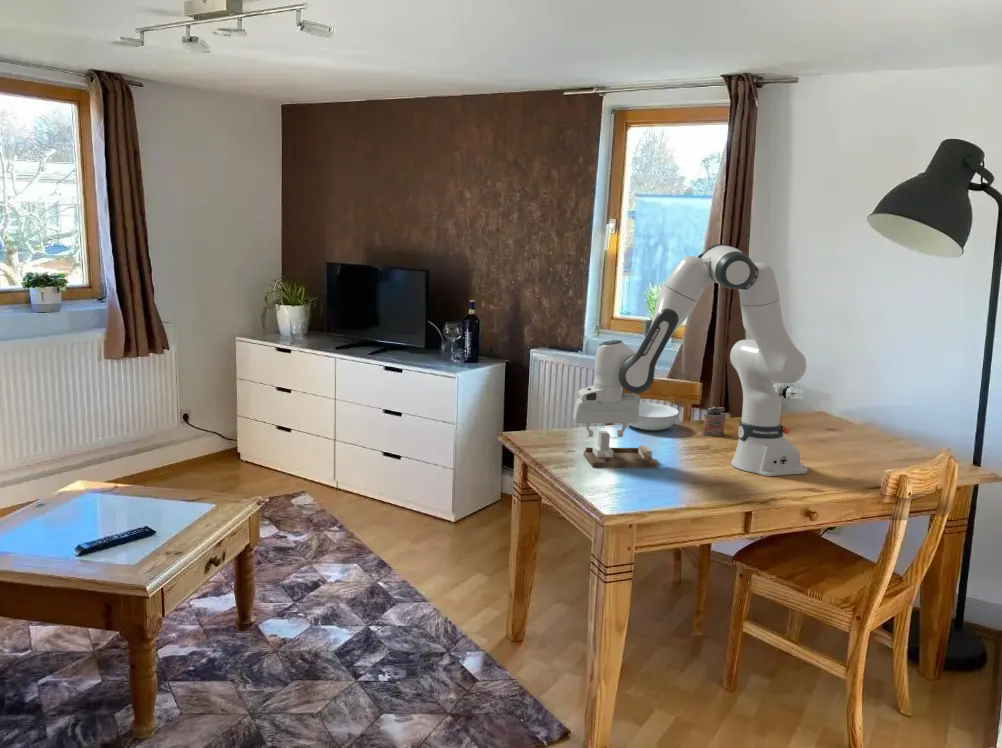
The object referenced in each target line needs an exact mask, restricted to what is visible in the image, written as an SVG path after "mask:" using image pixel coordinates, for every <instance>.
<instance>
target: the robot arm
mask: <svg viewBox="0 0 1002 748" xmlns="http://www.w3.org/2000/svg"><path fill="white" fill-rule="evenodd" d="M715 283H716V284H718V285H721V286H722V287H723V288H726V289H731V290H737V291H738V294H739V304H740V309H741V310H740V311H741V318H742V319H741V320H742V325H743V328H744V330H745V331H746V332H747V333H748V334H749V335H750V336H751V338H752V339H751V338H750V339H748V338H747V339H741V340H738V341H736V342H735V344H734V345H733V346H732V348H731V350H730V354H729V359H730V363H731V365H732V366H733V368H734V369H735V371H736V372H737V375H738V377H739V380H740V383H741V388H742V408H741V410H742V411H741V419H740V420H739V426H738V430H737V431H738V432H737V433H738V435H737V438H738V441H737V446H736V449H735V452H734V454H733V458H732V460H731V463H730V464H731V465H732V466H733V467H734V468H736V469H739V470H742V471H745V472H749V473H755V474H759V475H761V476H767V477H775V476H776V477H777V476H787V475H801V474H807V473H808V468H807V466H806V465H804V464H803V463H802V462H801V454H800V451H799V449H798V448H797V447H796V446H795V445H793V444H792V442H791V441H789V440H788V439H787V438H786V437H785V436H784V434H785V435H789V434H790V433H791V428H789V427H788V426H784V425H782V424H781V423H780V418H781V409H782V399H781V396H780V395H779V394H778V392H777V391H776V390H775V388H774V386H773V382H775V383H781V384H791V383H792V384H793V383H796V382H798V381H799V380H801V379H802V378H803V377H804V375H805V373H806V369H807V360H806V357H805V355H804V353H802V352H801V351H800V350H799V349H798V348H797V346H796V345H795V344H794V343H793V341H792V339H791V337H790V336H789V334H788V332H787V329H786V327H785V324H784V321H783V315H782V307H781V301H780V293H779V288H778V283H777V278H776V275H775V272H774V270H773V268H772V266H771V265H769V264H767V263H765V262H753V261H752V259H751V257H749V256H748V254H745V253H744V252H743V251H741V250H740V249H738V248H736V247H732V246H730V245H728V244H723V243H717V244H714V245H712V246H709V247H708V248H707V249H706V250H705V251H703V252H702V253H701V254H699V255H698V256H695V255H687V256H685V257H684V256H683V258H681V259H680V260H679V262H678V263H677V264H676V266H675V267H674V268H673V269H672V271H671V272H670V274H669V275H668V277H667V278H666V280H665V282H664V284H663V286H662V287H661V290H659V293H658V297H657V299H656V302H655V307H654V310H653V316H652V321H651V324H650V327H649V329H648V331H647V333H646V335H645V337H644V338H643V341H642V342H641V344H640V347H639V348H638V350H635V349H633V348H632V347H630V346H628V345H627V344H626V343H625V342H624V341H623V340H615V339H614V340H607V341H603V342H602V343H600V344H599V345H598V347H597V349H596V353H595V360H594V374H595V377H594V380H593V385H591V386H587V387H584V388H581V389H579V390H578V392H577V396H578V398H577V399H575V402H574V407H573V413H572V416H573V417H572V418H573V420H574V421H575V422H576V423H577V424H584V427H585V429H586V431H587V437H588V438H593V437H594V431H593V429H590V428H589V427H591V424H621V427H620V429H617V431H616V436H617V437H618V438H623V437H624V432H625V431H626V429H627V428H628V425H629V424H628V423H637V422H638V421H639V405H640V402H641V396H640V395H639V394H642V393H645V392H647V391H648V390H649V389H650V388H651V387H652V385H653V382H654V379H655V372H656V371H655V370H656V364H657V362H658V360H659V358H660V357H661V354H662V353H663V351H664V349H665V347H666V346H667V344H668V342H669V340H670V339H671V337H672V336H673V335H674V333H675V332H676V331H677V330H678V329H679V327H680V326H681V325H682V324H683V323H684V322H685V321H686V319H688V317H689V316H690V315H691V314H692V312H693V311H694V309H695V307H696V306H697V304H698V303H699V301H700V299H701V297H702V295H703V293H704V291H705V290H706V289H707V288H708V287H709V286H711V285H712V284H715ZM623 389H624V390H625V391H626V392H624V391H623Z"/></svg>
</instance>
